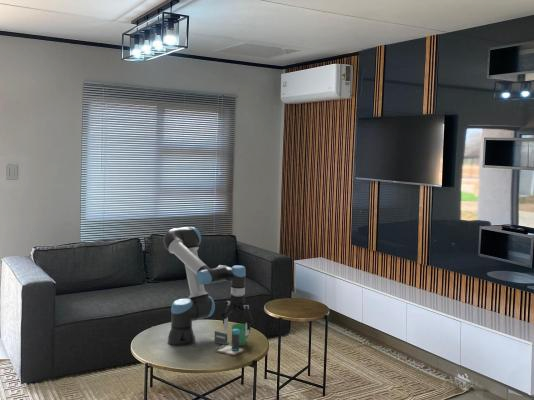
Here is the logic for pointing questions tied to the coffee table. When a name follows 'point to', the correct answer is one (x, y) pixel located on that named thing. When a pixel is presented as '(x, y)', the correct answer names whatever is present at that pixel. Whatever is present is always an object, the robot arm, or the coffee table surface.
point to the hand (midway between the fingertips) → (236, 332)
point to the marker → (235, 339)
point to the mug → (241, 333)
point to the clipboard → (229, 350)
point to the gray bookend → (220, 338)
